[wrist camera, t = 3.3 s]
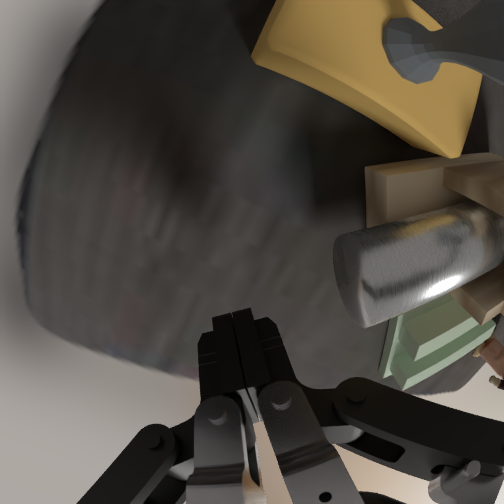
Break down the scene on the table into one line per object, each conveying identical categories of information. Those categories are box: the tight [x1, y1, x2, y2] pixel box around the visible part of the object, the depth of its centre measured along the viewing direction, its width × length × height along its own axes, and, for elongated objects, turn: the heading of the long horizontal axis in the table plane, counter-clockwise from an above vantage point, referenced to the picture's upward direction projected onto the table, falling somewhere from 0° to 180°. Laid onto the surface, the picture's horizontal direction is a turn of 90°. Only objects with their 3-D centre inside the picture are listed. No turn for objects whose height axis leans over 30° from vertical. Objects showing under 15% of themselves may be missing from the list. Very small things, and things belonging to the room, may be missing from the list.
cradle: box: [379, 293, 496, 391], centre depth 19 cm, size 8×13×4 cm, turn 101°
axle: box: [333, 200, 504, 328], centre depth 12 cm, size 14×4×4 cm, turn 101°
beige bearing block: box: [365, 152, 504, 326], centre depth 11 cm, size 7×12×8 cm, turn 101°
